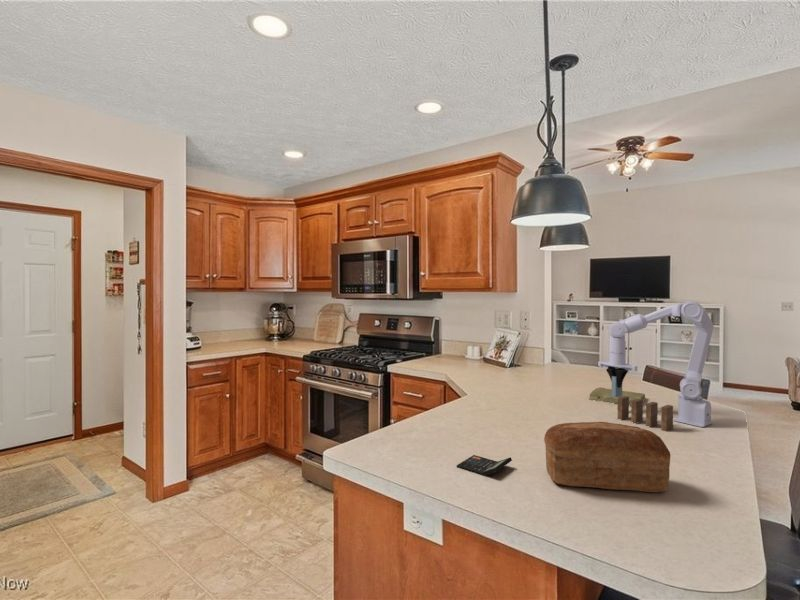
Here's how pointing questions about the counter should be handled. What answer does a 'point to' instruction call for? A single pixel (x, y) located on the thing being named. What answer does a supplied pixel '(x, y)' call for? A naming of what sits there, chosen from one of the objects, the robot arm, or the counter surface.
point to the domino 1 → (615, 388)
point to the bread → (607, 456)
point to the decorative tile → (605, 396)
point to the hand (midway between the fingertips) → (617, 386)
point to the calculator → (482, 465)
